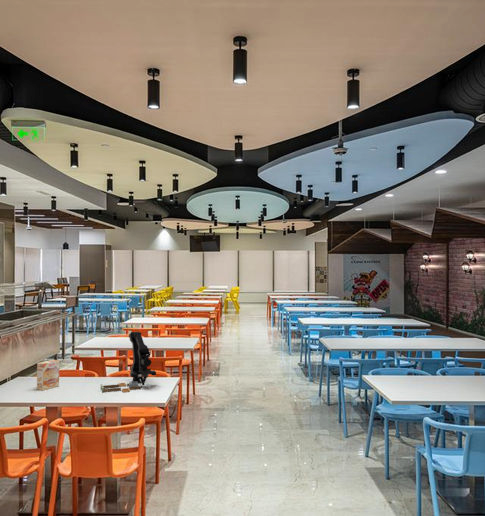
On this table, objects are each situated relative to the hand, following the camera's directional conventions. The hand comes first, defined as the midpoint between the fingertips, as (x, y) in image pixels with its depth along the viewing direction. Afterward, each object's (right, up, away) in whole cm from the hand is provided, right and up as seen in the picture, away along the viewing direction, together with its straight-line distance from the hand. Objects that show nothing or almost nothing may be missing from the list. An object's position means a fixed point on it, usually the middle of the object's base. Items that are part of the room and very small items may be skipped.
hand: (143, 385), depth 362 cm
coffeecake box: (-69, -1, -4) cm, 70 cm away
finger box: (-16, -1, -6) cm, 17 cm away
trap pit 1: (-16, -1, +3) cm, 17 cm away
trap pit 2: (-10, -1, -14) cm, 17 cm away
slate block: (-6, -1, -3) cm, 7 cm away
